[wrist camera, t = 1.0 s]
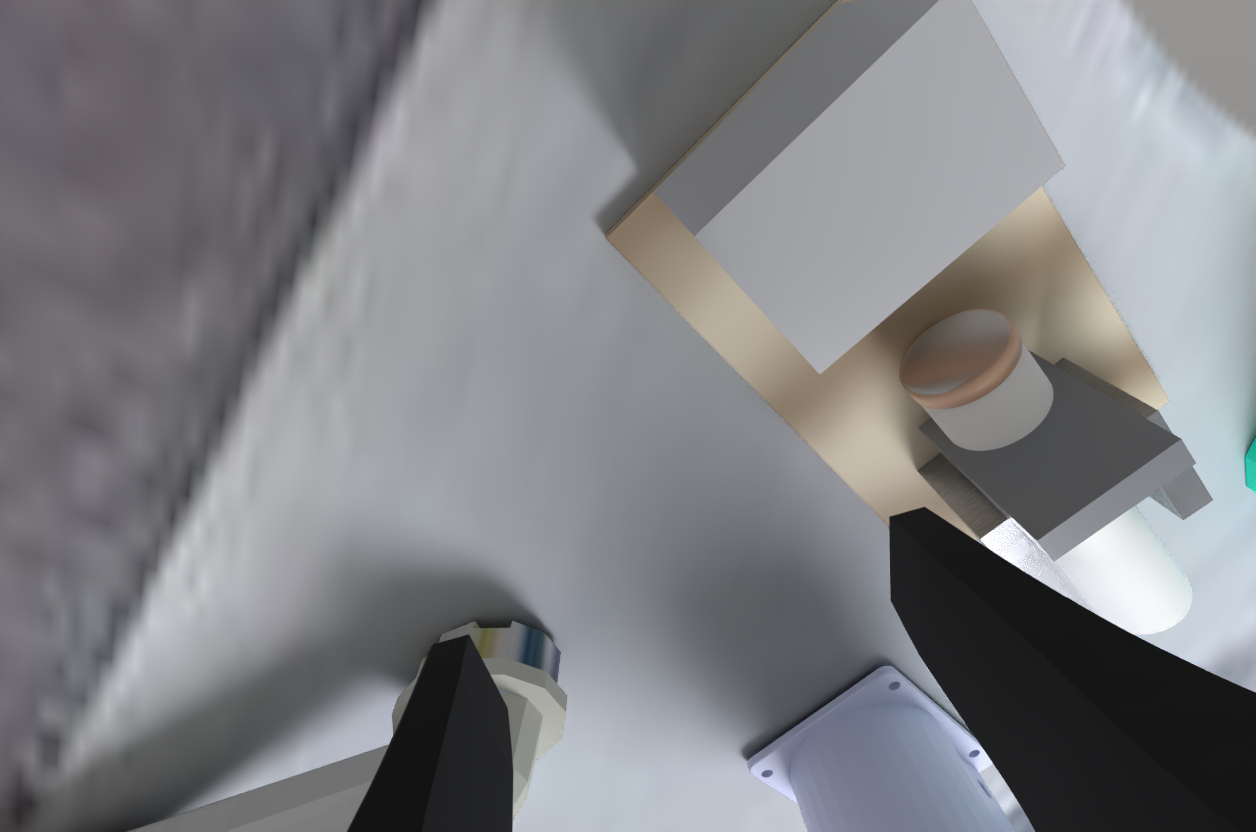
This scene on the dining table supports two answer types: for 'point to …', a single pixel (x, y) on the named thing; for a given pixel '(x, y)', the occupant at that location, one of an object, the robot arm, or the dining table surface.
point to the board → (891, 335)
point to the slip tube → (1054, 462)
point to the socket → (863, 168)
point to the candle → (1251, 467)
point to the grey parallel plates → (1004, 536)
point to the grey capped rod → (330, 795)
